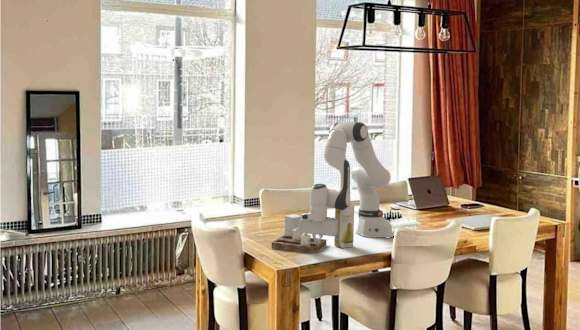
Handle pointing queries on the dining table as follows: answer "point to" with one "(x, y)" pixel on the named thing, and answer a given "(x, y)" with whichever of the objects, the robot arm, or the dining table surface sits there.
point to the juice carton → (344, 227)
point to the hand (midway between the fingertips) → (317, 242)
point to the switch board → (297, 244)
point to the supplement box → (291, 223)
